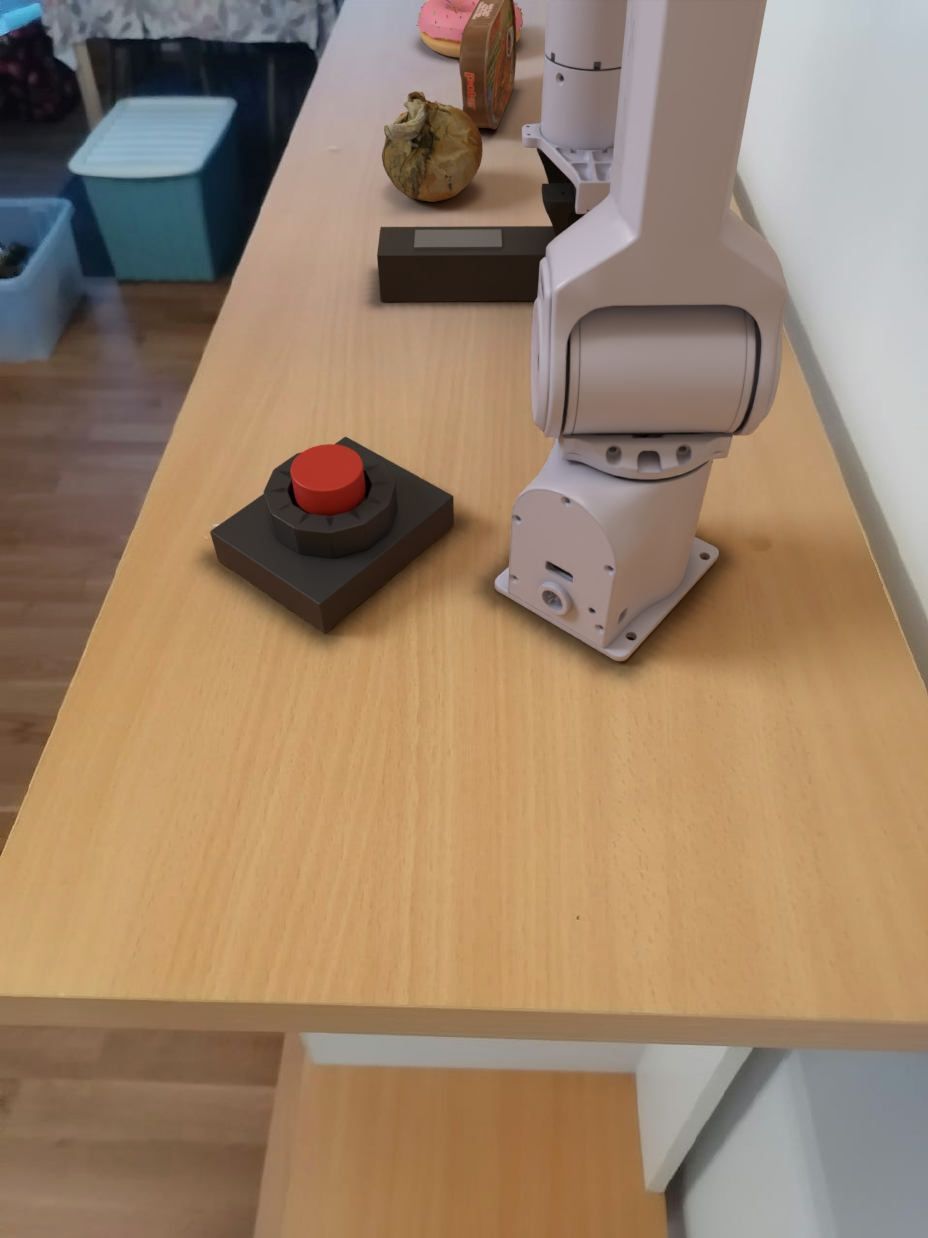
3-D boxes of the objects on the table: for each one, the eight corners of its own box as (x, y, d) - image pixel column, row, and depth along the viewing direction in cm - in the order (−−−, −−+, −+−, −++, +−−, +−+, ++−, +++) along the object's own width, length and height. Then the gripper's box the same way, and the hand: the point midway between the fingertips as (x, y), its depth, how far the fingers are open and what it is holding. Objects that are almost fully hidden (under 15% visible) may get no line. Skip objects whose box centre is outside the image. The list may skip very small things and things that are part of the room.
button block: (324, 634, 47) (314, 579, 44) (217, 561, 50) (201, 504, 47) (454, 525, 52) (453, 469, 49) (349, 465, 55) (342, 409, 52)
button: (330, 527, 47) (326, 500, 45) (280, 496, 48) (275, 469, 47) (380, 489, 49) (378, 463, 47) (330, 460, 50) (326, 434, 49)
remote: (588, 271, 69) (593, 223, 67) (593, 300, 67) (598, 251, 64) (383, 272, 70) (380, 224, 67) (380, 301, 67) (376, 252, 64)
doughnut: (449, 71, 95) (448, 24, 92) (400, 37, 101) (397, -8, 98) (542, 51, 98) (544, 5, 95) (488, 19, 105) (489, -25, 101)
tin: (490, 145, 84) (491, 38, 77) (455, 142, 84) (453, 35, 78) (518, 80, 93) (521, -20, 87) (486, 77, 94) (487, -22, 87)
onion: (485, 213, 75) (487, 106, 69) (384, 217, 75) (377, 110, 69) (478, 170, 80) (479, 67, 74) (383, 174, 80) (376, 70, 74)
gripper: (520, 12, 61) (513, 216, 72) (530, 102, 52) (520, 322, 62) (629, 11, 61) (607, 216, 72) (659, 101, 52) (628, 322, 62)
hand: (573, 265), depth 67 cm, fingers open, 5 cm apart
